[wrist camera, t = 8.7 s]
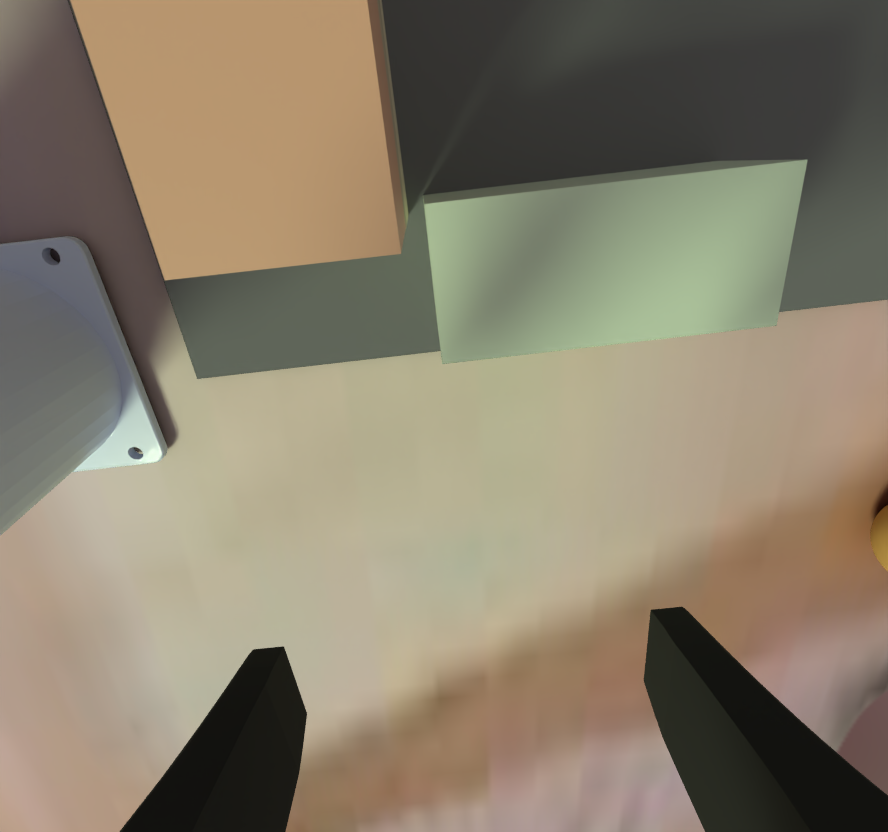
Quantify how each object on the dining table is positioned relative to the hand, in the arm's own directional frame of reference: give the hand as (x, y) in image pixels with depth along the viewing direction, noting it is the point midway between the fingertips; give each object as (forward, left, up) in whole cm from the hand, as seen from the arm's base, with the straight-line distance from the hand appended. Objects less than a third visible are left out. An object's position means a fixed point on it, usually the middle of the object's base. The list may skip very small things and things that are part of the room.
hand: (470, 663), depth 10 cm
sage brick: (+5, +6, -10) cm, 13 cm away
